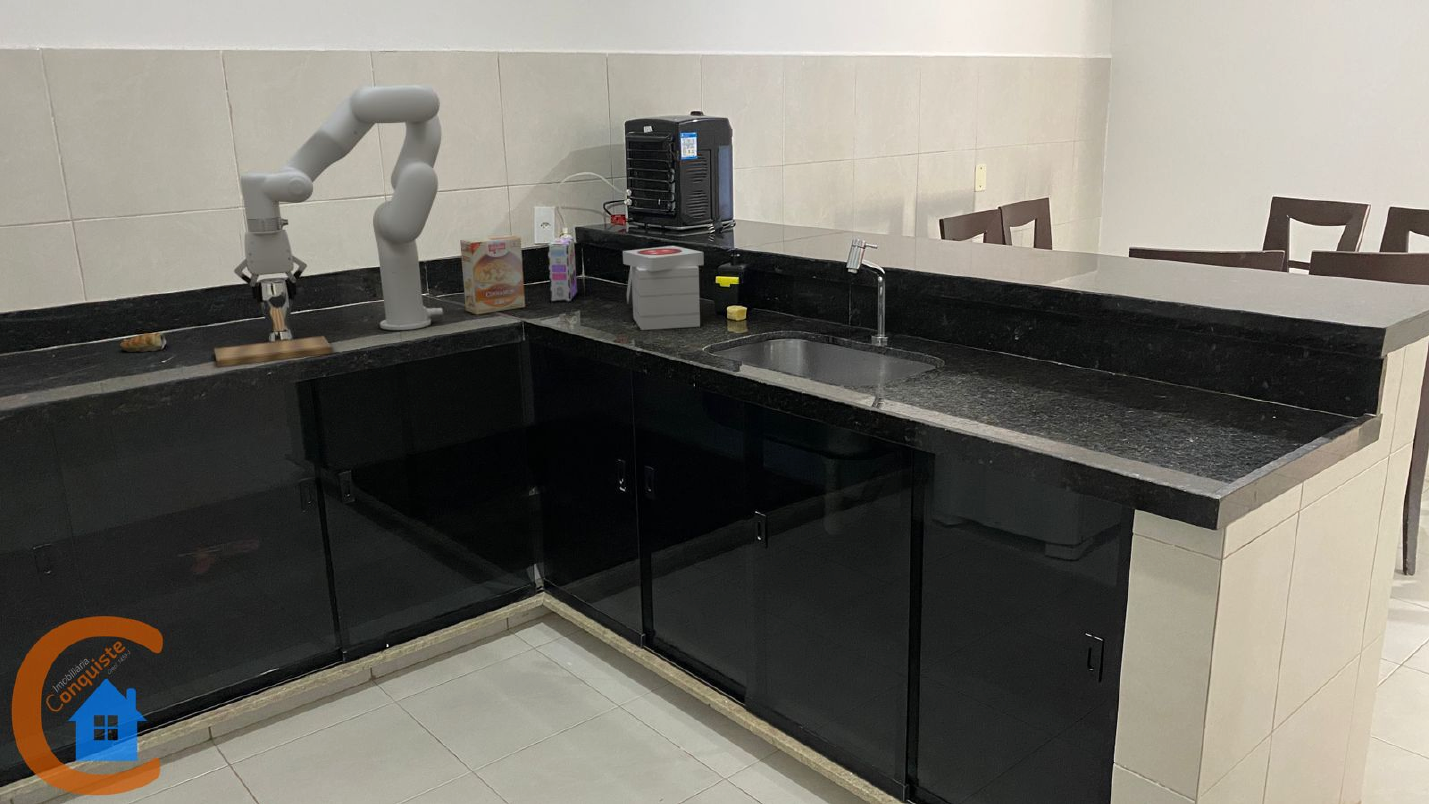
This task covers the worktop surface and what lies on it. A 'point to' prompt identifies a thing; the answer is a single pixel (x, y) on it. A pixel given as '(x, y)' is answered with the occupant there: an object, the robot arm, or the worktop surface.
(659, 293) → the pizza boxes
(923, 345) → the worktop surface
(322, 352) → the serving board
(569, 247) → the candy box
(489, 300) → the coffeecake box
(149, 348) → the pastry
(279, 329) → the beer glass
